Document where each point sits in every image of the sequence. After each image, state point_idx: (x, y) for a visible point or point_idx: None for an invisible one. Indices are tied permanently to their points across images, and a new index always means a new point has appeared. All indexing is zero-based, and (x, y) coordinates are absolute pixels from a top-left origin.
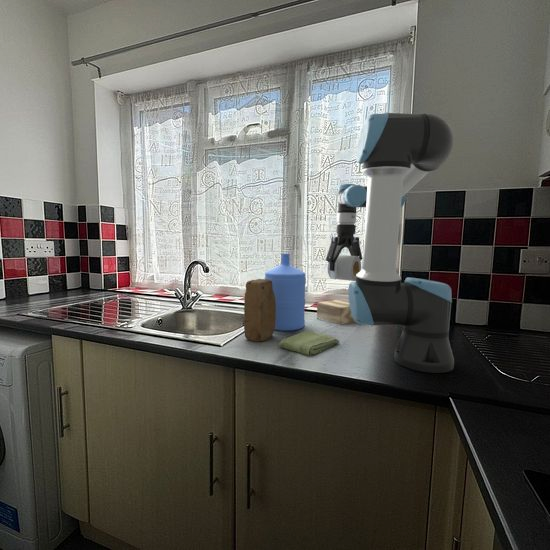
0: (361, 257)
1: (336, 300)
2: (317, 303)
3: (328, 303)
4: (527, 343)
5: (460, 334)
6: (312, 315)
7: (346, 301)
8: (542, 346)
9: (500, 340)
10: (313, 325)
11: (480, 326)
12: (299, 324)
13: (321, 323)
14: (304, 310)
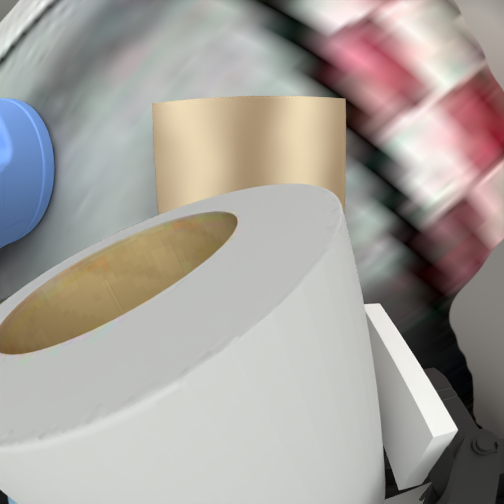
0: (500, 497)
1: (314, 110)
2: (153, 105)
3: (192, 158)
4: (396, 488)
5: (383, 449)
6: (191, 61)
7: (342, 170)
8: (392, 495)
9: (388, 477)
10: (83, 210)
11: (474, 420)
12: (10, 242)
13: (127, 201)
14: (10, 229)
